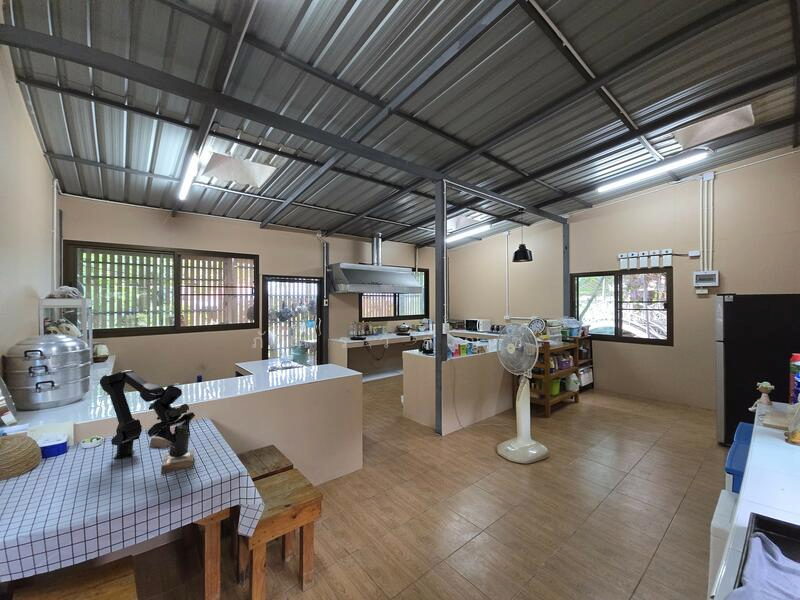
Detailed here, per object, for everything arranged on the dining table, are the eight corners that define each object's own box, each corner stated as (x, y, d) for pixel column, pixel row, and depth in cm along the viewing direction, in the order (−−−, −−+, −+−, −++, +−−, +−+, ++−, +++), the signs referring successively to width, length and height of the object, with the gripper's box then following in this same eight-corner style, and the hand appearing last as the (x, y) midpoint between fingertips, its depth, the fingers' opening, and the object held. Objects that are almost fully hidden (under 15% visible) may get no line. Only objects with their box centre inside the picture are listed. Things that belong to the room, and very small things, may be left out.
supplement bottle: (165, 458, 135) (168, 429, 135) (172, 451, 141) (175, 424, 142) (184, 457, 136) (186, 428, 137) (190, 450, 143) (192, 423, 144)
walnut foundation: (164, 462, 140) (164, 455, 141) (193, 457, 146) (194, 450, 146) (161, 473, 131) (161, 465, 131) (192, 467, 137) (193, 460, 137)
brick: (165, 448, 155) (165, 438, 156) (148, 447, 155) (149, 437, 156) (188, 435, 172) (188, 426, 172) (172, 434, 172) (173, 426, 172)
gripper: (155, 405, 132) (174, 435, 129) (193, 394, 150) (211, 421, 147) (138, 421, 133) (157, 452, 130) (178, 409, 151) (195, 435, 148)
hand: (182, 439), depth 139 cm, fingers closed on supplement bottle, 7 cm apart
